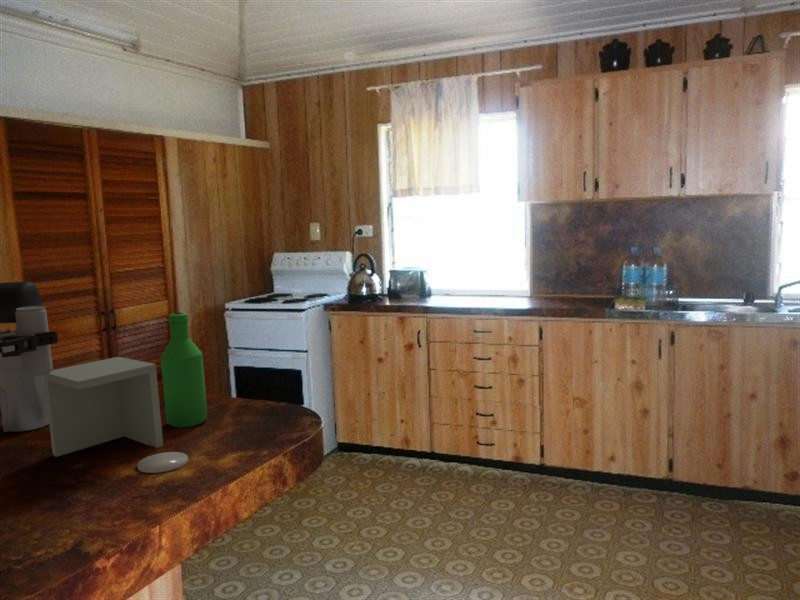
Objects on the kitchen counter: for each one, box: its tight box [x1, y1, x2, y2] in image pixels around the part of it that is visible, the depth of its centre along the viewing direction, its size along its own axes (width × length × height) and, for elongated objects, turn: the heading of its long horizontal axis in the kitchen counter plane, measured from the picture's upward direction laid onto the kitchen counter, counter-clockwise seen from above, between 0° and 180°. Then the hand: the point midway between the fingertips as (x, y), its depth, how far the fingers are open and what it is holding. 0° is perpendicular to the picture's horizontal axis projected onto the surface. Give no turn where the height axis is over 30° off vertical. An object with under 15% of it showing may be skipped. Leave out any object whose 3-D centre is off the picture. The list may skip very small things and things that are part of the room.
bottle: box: [160, 312, 208, 429], centre depth 146 cm, size 9×9×25 cm
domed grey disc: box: [136, 451, 189, 474], centre depth 124 cm, size 9×9×1 cm
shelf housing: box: [44, 356, 164, 457], centre depth 131 cm, size 16×14×17 cm
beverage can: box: [15, 305, 54, 376], centre depth 117 cm, size 5×5×12 cm
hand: (49, 335), depth 119 cm, fingers closed on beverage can, 4 cm apart
